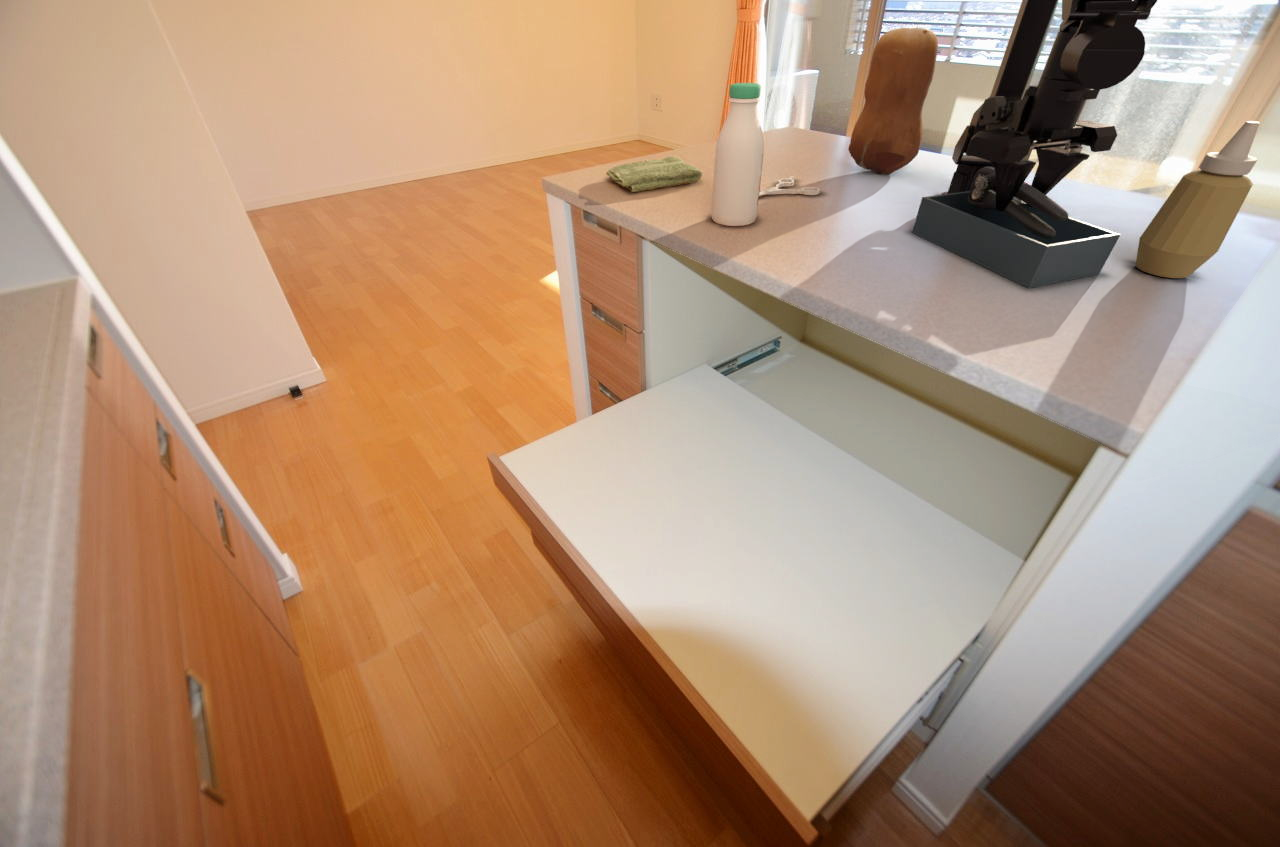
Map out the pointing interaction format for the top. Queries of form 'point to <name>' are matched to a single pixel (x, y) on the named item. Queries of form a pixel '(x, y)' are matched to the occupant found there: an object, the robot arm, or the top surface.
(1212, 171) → the squeeze bottle
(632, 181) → the washcloth
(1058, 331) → the top surface
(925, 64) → the butternut squash
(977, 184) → the can opener
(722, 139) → the milk bottle
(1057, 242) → the bin
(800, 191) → the scissors
